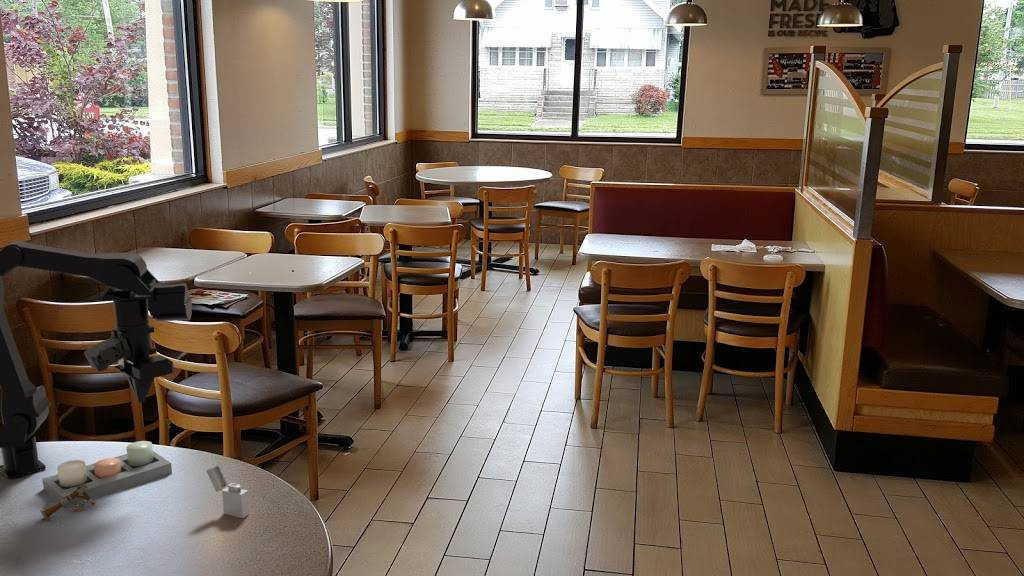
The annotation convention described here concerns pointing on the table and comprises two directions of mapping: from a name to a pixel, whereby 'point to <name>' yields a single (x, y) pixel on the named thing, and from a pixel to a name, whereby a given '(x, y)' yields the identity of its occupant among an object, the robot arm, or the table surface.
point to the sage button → (140, 453)
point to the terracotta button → (107, 467)
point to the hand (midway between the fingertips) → (140, 402)
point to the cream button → (72, 473)
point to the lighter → (229, 493)
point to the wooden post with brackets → (66, 500)
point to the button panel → (110, 479)
